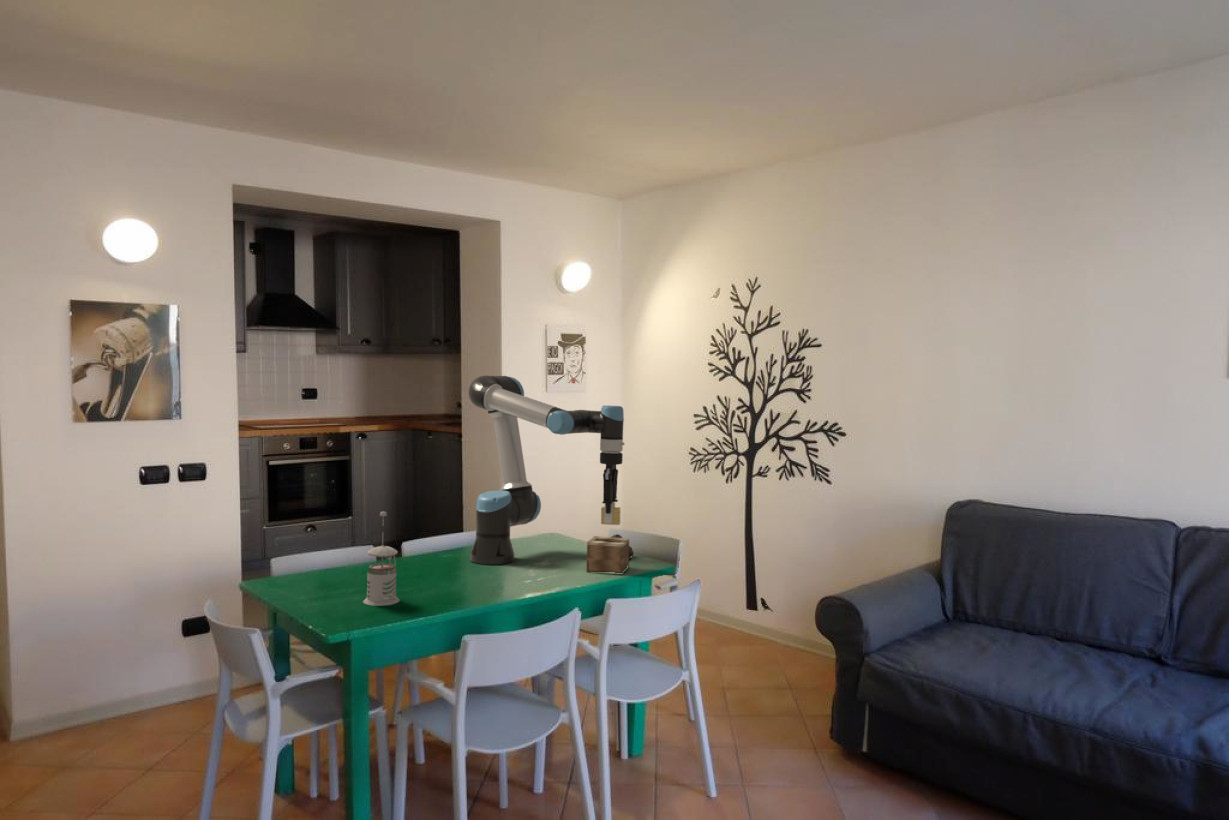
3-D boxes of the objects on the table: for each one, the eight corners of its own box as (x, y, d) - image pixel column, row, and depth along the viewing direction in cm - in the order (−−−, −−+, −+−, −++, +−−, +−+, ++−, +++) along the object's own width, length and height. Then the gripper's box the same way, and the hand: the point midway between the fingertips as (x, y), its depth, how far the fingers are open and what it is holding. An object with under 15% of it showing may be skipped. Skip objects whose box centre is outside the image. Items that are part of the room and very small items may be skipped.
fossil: (634, 560, 289) (621, 534, 289) (610, 571, 290) (598, 545, 289) (634, 552, 300) (622, 528, 299) (612, 563, 300) (600, 539, 300)
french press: (356, 604, 225) (358, 513, 224) (376, 593, 236) (378, 507, 235) (390, 607, 223) (392, 515, 222) (408, 596, 234) (410, 509, 233)
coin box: (586, 572, 271) (587, 542, 270) (593, 565, 281) (594, 536, 281) (622, 575, 268) (623, 544, 268) (628, 567, 279) (629, 538, 279)
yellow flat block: (601, 524, 273) (601, 507, 273) (602, 523, 276) (602, 506, 276) (618, 525, 272) (618, 508, 272) (620, 523, 275) (620, 507, 275)
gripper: (617, 454, 265) (615, 526, 266) (626, 450, 280) (624, 519, 281) (595, 453, 267) (593, 525, 267) (605, 449, 282) (603, 517, 283)
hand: (609, 522), depth 274 cm, fingers closed on yellow flat block, 2 cm apart
